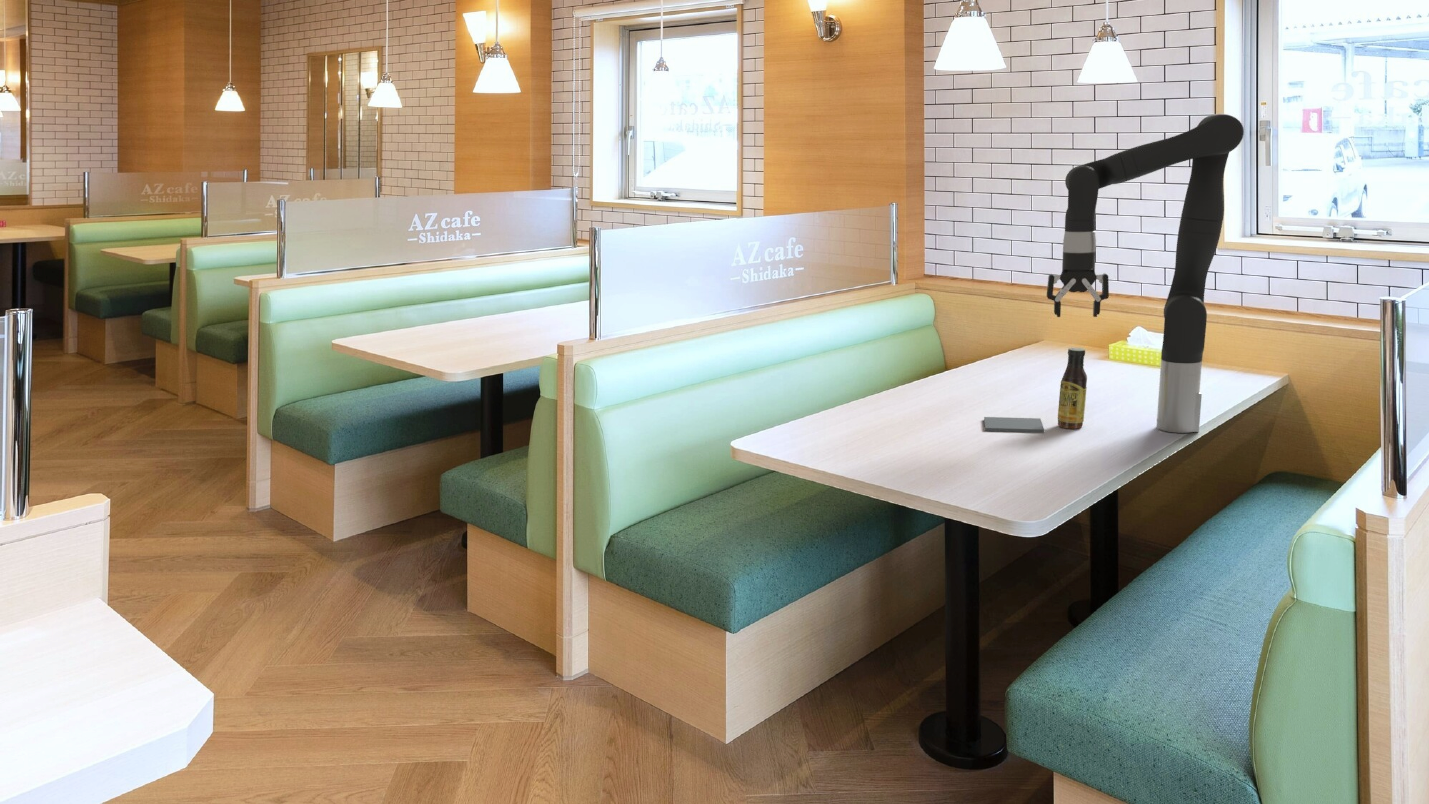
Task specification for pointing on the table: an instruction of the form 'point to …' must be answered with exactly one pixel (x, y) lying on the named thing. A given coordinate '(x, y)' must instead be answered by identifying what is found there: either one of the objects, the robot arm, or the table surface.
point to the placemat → (1013, 424)
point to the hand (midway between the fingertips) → (1076, 316)
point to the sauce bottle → (1073, 391)
